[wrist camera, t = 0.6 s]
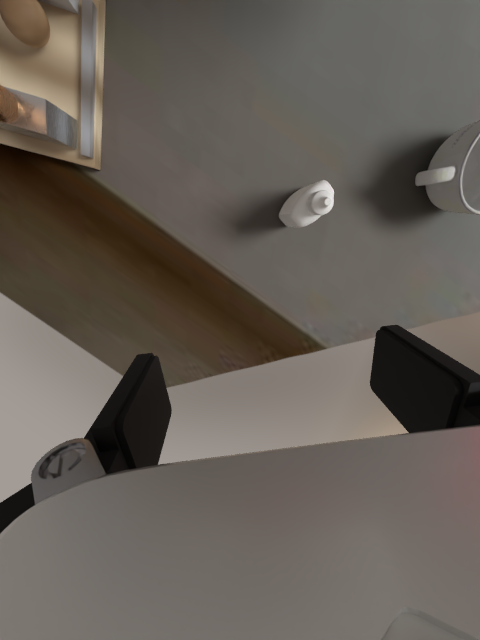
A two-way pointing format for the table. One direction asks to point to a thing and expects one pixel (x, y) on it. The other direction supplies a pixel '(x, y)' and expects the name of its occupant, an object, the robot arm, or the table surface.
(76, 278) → the table surface
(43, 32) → the walnut
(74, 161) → the board
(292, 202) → the eye dropper bottle
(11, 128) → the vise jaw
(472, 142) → the teacup
